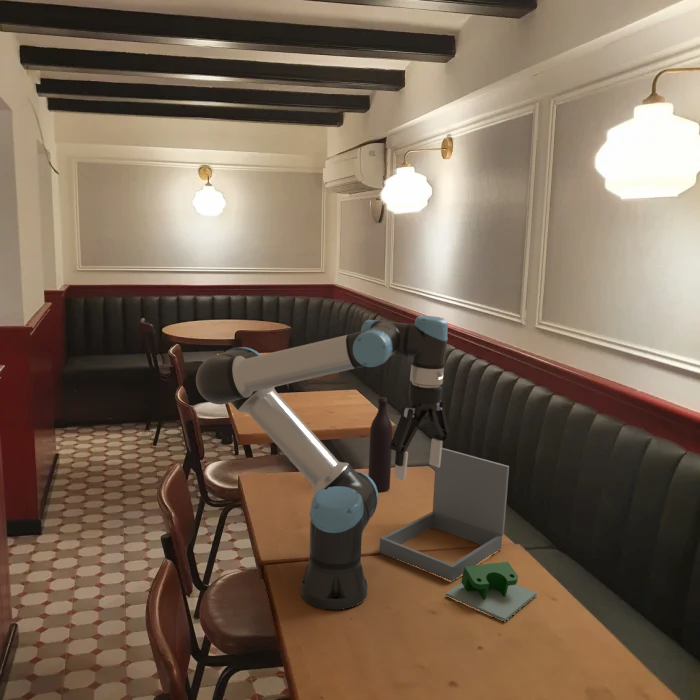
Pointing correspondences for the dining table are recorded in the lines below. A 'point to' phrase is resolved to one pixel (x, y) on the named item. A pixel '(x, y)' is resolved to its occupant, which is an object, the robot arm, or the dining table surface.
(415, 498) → the dining table surface
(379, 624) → the dining table surface
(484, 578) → the clamp
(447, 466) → the case
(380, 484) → the wine bottle
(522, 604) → the mat
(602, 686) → the dining table surface
